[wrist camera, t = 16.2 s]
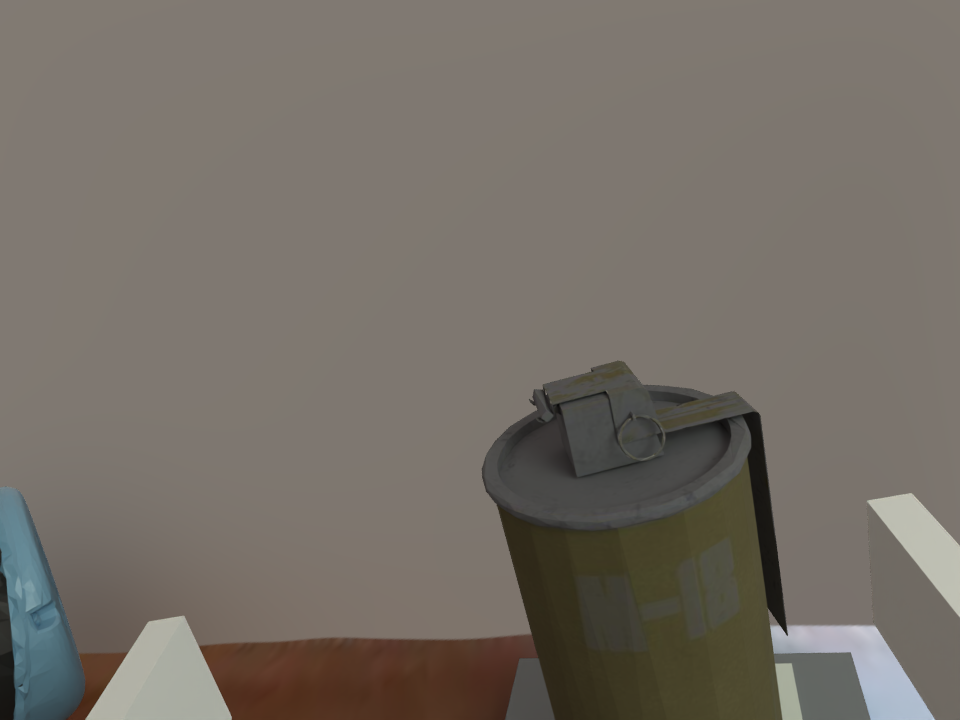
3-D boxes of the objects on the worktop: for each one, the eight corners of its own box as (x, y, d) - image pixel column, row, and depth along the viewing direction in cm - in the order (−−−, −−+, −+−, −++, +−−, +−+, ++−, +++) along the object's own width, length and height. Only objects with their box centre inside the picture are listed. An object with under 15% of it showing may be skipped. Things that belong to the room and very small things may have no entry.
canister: (593, 903, 30) (475, 481, 24) (549, 707, 40) (457, 368, 33) (852, 835, 30) (809, 394, 24) (745, 656, 40) (693, 307, 33)
